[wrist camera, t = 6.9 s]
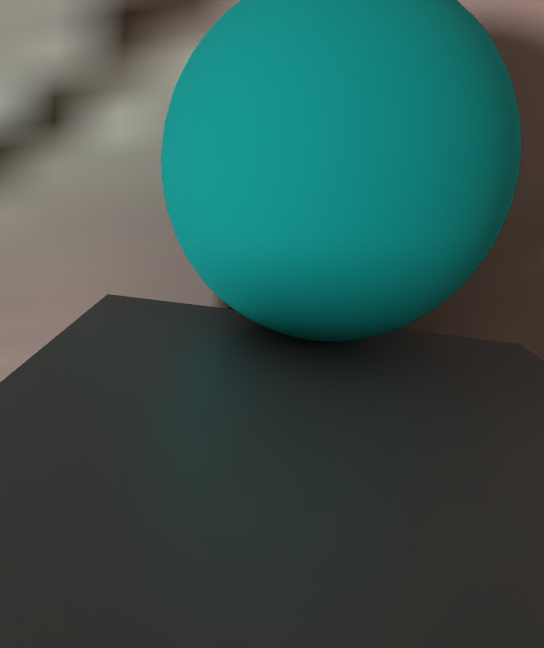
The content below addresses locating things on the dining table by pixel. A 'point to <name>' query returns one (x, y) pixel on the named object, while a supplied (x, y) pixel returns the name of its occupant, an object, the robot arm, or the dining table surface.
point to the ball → (340, 160)
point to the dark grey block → (269, 487)
